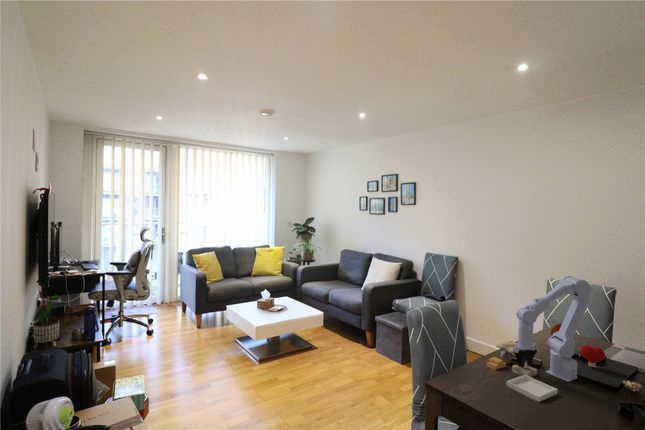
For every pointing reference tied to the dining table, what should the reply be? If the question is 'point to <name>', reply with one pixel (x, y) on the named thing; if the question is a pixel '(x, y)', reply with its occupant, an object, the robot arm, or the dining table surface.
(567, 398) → the dining table surface
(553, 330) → the toy drill
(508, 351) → the trolley
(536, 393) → the parts tray
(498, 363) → the tan stepped block
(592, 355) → the red mushroom
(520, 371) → the pin socket
